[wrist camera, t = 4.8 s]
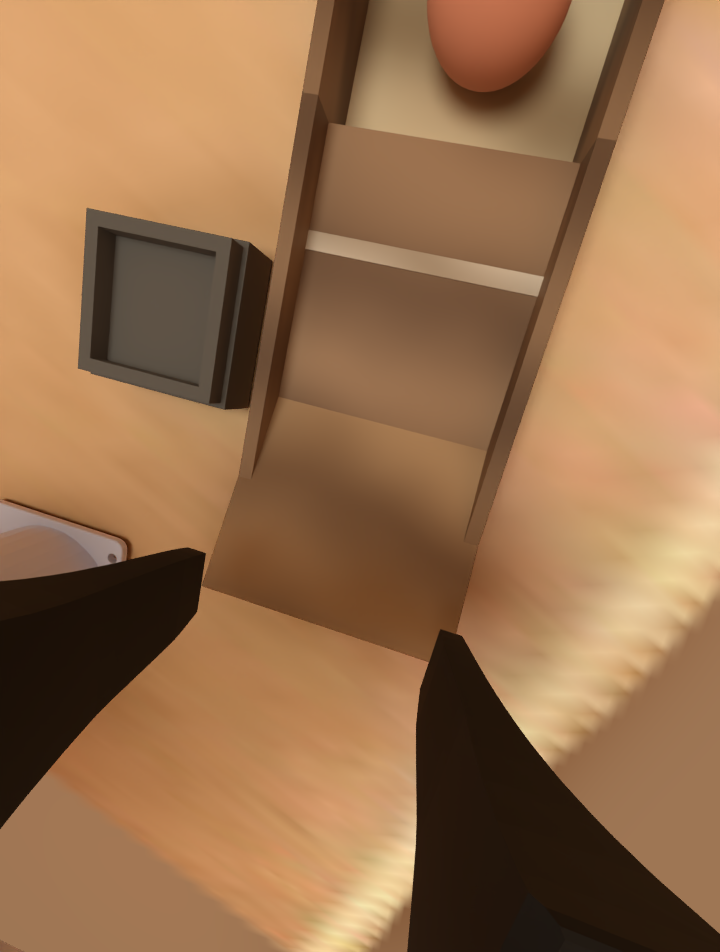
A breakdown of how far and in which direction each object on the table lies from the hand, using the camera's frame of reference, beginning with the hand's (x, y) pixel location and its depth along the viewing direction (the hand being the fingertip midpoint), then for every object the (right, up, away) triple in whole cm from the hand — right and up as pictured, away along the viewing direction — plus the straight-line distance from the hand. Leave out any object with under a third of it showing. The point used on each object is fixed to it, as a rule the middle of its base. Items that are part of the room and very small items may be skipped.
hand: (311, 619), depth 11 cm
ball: (+5, +18, 0) cm, 19 cm away
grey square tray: (-6, +11, +5) cm, 13 cm away
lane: (+3, +10, +4) cm, 11 cm away
